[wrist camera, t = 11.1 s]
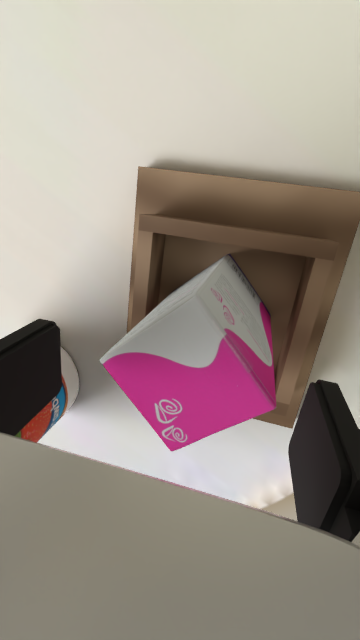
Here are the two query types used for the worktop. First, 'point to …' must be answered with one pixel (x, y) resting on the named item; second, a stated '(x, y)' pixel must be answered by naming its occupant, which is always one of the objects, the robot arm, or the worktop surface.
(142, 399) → the supplement box
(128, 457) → the worktop surface
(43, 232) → the worktop surface
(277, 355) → the holder
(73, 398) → the fruit juice
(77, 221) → the worktop surface
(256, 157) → the worktop surface
